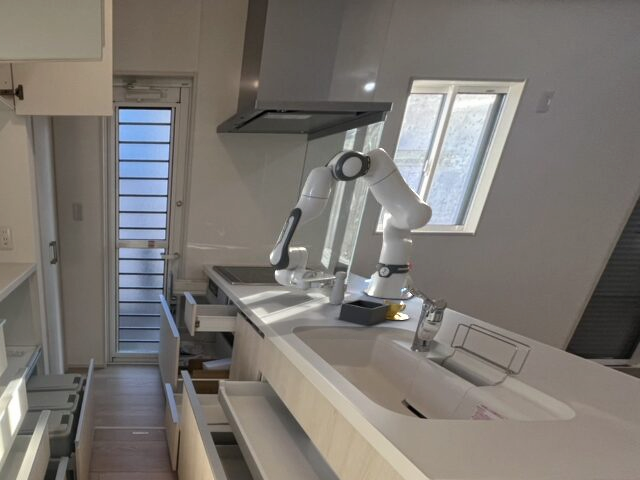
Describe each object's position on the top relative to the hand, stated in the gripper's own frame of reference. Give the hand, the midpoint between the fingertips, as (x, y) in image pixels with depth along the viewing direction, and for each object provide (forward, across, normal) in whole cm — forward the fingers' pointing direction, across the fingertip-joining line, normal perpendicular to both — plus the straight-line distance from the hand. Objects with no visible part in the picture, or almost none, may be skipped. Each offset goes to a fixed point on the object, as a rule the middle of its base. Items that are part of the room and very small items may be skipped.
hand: (330, 285), depth 172 cm
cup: (+28, 0, +7) cm, 29 cm away
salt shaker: (+4, 0, +7) cm, 8 cm away
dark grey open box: (+26, -12, +7) cm, 30 cm away
